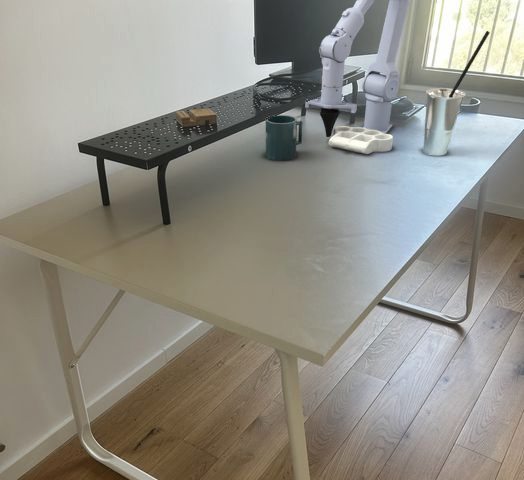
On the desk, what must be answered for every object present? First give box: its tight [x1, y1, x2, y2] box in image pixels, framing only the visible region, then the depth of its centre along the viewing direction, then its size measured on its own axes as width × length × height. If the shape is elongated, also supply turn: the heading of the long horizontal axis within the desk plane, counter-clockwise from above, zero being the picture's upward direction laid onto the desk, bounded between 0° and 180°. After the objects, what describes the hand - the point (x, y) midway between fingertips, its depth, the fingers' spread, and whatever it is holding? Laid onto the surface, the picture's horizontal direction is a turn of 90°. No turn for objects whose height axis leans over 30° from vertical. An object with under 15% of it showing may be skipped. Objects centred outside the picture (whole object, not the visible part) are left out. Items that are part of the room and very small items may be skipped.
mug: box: [265, 114, 303, 162], centre depth 150 cm, size 11×8×10 cm
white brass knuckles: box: [328, 125, 394, 155], centre depth 157 cm, size 3×18×15 cm
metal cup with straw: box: [422, 30, 491, 157], centre depth 144 cm, size 11×11×30 cm
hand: (328, 136), depth 161 cm, fingers closed
